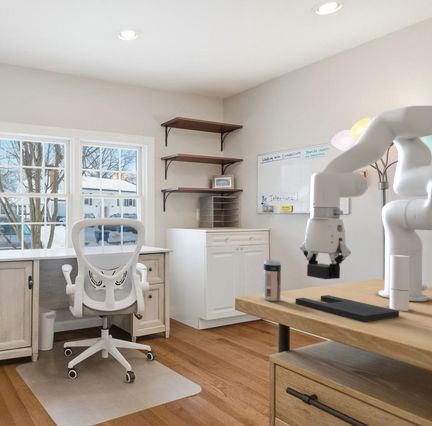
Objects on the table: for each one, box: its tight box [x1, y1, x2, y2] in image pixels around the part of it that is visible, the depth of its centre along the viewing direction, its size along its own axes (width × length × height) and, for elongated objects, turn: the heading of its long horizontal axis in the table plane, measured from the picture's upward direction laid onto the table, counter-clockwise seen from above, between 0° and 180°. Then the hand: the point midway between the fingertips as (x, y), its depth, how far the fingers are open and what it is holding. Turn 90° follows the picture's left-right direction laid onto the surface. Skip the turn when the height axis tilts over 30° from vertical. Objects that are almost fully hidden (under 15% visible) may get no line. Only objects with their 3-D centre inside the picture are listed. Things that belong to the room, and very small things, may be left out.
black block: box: [306, 263, 341, 280], centre depth 110 cm, size 6×6×4 cm
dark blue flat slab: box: [295, 294, 400, 323], centre depth 105 cm, size 14×20×2 cm
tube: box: [389, 255, 410, 312], centre depth 106 cm, size 4×4×15 cm
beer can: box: [262, 259, 282, 302], centre depth 115 cm, size 5×5×12 cm
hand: (323, 275), depth 110 cm, fingers closed on black block, 6 cm apart
